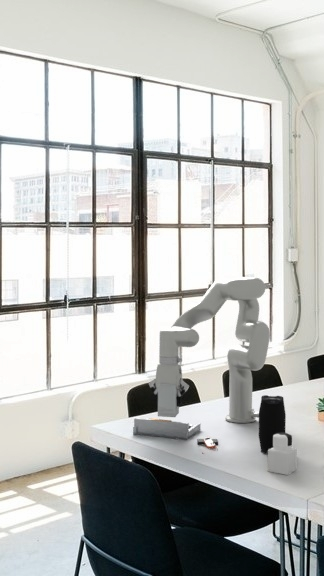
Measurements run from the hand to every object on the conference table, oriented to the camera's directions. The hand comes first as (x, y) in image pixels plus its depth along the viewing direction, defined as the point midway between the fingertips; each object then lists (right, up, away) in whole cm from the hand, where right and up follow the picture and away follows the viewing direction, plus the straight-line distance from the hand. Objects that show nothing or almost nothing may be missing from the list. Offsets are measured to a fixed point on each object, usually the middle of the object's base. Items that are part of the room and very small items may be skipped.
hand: (168, 404), depth 277 cm
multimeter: (+16, -13, -23) cm, 30 cm away
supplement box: (0, -4, 0) cm, 4 cm away
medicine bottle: (+36, -13, -49) cm, 62 cm away
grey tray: (0, -11, -1) cm, 11 cm away
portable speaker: (+36, -12, -27) cm, 47 cm away
